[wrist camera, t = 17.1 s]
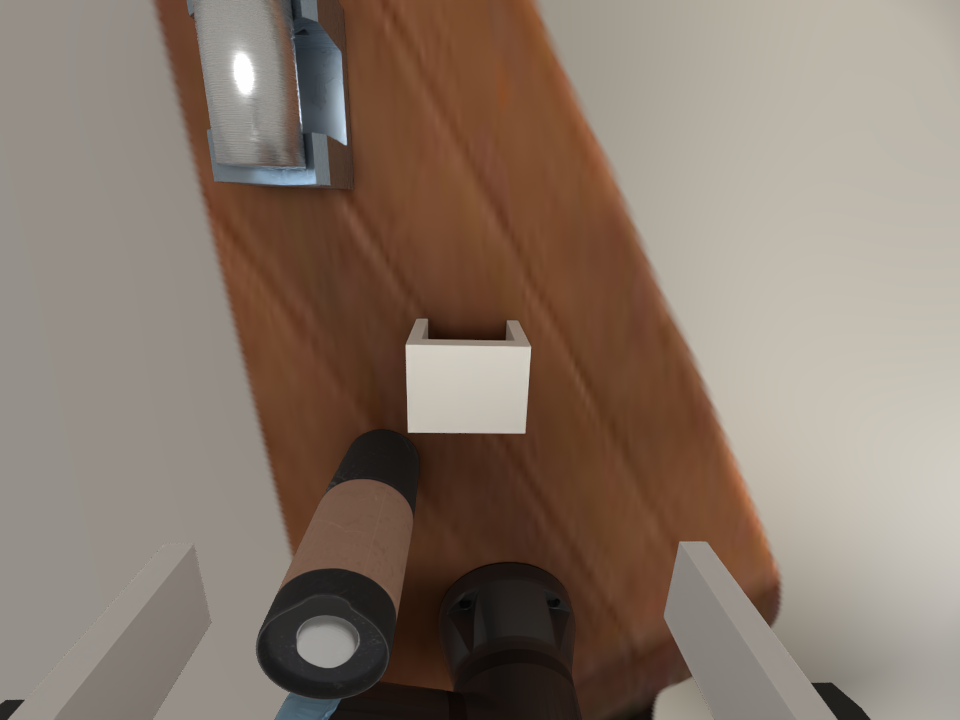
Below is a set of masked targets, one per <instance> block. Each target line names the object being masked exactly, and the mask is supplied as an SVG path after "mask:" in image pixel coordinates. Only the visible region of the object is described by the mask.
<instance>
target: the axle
mask: <svg viewBox="0 0 960 720" xmlns="http://www.w3.org/2000/svg"><path fill="white" fill-rule="evenodd" d="M192 4H193V10H194V17H195V24H196V30H197V37H198V44H199V50H200V57H201V64H202V70H203V77H204V84H205V90H206V97H207V104H208V110H209V117H210V124H211V130H212V137H213V144H214V150H215V157H216V163H218V164H222V165H229V166H237V167H248V168H262V169H288V170H295V169H306V162H305V151H304V140H303V129H302V118H301V107H300V96H299V85H298V74H297V63H296V52H295V41H294V30H293V19H292V7H291V0H192Z"/></svg>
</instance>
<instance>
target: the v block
mask: <svg viewBox="0 0 960 720" xmlns="http://www.w3.org/2000/svg"><path fill="white" fill-rule="evenodd" d="M187 4H188V11H189V16H190V17H192V18H193V19H195V17H194V10H193V4H192V0H187ZM291 7H292V19H293V30H294V41H295V52H296V63H297V74H298V85H299V96H300V107H301V118H302V129H303V140H304V151H305V162H306V169H295V170H288V169H262V168H248V167H237V166H229V165H222V164H218V163H216V157H215V150H214V144H213V137H212V130H211V129H209V130H207V135H208V141H209V148H210V155H211V161H212V168H213V174H214V181H215V182H223V183H232V184H240V185H249V186H258V187H285V188H316V189H347V190H354V178H353V161H352V144H351V127H350V110H349V93H348V76H347V59H346V42H345V25H344V10H343V8H342V7H341V5H340V3H339V2H338V0H291Z"/></svg>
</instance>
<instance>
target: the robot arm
mask: <svg viewBox="0 0 960 720" xmlns="http://www.w3.org/2000/svg"><path fill="white" fill-rule="evenodd" d="M664 619H665V621H666V623H667V625H668V627H669V629H670V631H671V633H672V635H673V637H674V639H675V641H676V643H677V645H678V647H679V649H680V651H681V653H682V655H683V657H684V659H685V661H686V663H687V665H688V668H689V670H690V672H691V674H692V676H693V678H694V680H695V682H696V684H697V686H698V688H699V690H700V692H701V694H702V696H703V698H704V700H705V702H706V704H707V706H708V708H709V710H710V712H711V714H712V716H713V718H714V720H870V718H869V717H868V716H867V715H866V713H865V712H864V711H863V710H862V708H861V707H859V706H858V705H857V704H856V703H855V702H854V701H852V700H851V699H850V698H849V697H848V696H846V695H845V694H844V693H843V692H842V691H841V690H839V689H838V688H837V687H836V686H835V685H834V684H833V683H810V682H809V680H808V679H807V677H806V676H805V675H804V673H803V672H802V671H801V669H800V668H799V667H798V665H797V664H796V663H795V661H794V660H793V659H792V657H791V656H790V654H789V653H788V652H787V650H786V649H785V648H784V646H783V645H782V643H781V642H780V641H779V639H778V638H777V637H776V635H775V634H774V633H773V631H772V630H771V629H770V627H769V626H768V624H767V623H766V622H765V620H764V619H763V618H762V616H761V615H760V614H759V612H758V611H757V610H756V608H755V607H754V605H753V604H752V603H751V601H750V600H749V599H748V597H747V596H746V595H745V593H744V592H743V591H742V589H741V588H740V586H739V585H738V584H737V582H736V581H735V580H734V578H733V577H732V576H731V574H730V573H729V572H728V570H727V569H726V567H725V566H724V565H723V563H722V562H721V561H720V559H719V558H718V557H717V555H716V554H715V552H714V551H713V550H712V548H711V547H710V546H709V544H708V543H707V542H679V547H678V552H677V556H676V561H675V566H674V570H673V575H672V580H671V584H670V589H669V594H668V598H667V603H666V608H665V613H664ZM210 624H211V618H210V614H209V610H208V605H207V600H206V596H205V591H204V587H203V582H202V577H201V573H200V569H199V564H198V559H197V555H196V550H195V546H194V544H164V545H163V546H162V547H161V548H160V549H159V551H157V553H156V554H155V555H154V556H153V557H152V558H151V559H150V560H149V562H148V563H147V564H146V565H145V566H144V567H143V568H142V569H141V571H140V572H139V573H138V574H137V575H136V576H135V577H134V578H133V580H132V581H131V582H130V583H129V584H128V585H127V586H126V587H125V588H124V590H123V591H122V592H121V593H120V594H119V595H118V596H117V597H116V599H115V600H114V601H113V602H112V603H111V604H110V606H108V608H107V609H106V610H105V611H104V612H103V613H102V614H101V615H100V617H99V618H98V619H97V620H96V621H95V622H94V623H93V624H92V626H91V627H90V628H89V629H88V630H87V631H86V632H85V633H84V634H83V636H82V637H81V638H80V639H79V640H78V641H77V642H76V643H75V645H74V646H73V647H72V648H71V649H70V650H69V652H67V654H66V655H65V656H64V657H63V658H62V659H61V660H60V661H59V663H58V664H57V665H56V666H55V667H54V668H53V669H52V671H51V672H50V673H49V674H48V675H47V676H46V677H45V678H44V680H43V681H42V682H41V683H40V684H39V685H38V686H37V687H36V688H35V690H34V691H33V692H32V693H31V694H30V695H29V696H28V697H27V698H26V700H5V701H4V702H3V703H1V704H0V720H153V718H154V716H155V715H156V713H157V711H158V710H159V708H160V706H161V705H162V703H163V702H164V700H165V698H166V697H167V695H168V693H169V692H170V690H171V688H172V687H173V685H174V683H175V682H176V680H177V679H178V677H179V675H180V674H181V672H182V670H183V669H184V667H185V665H186V664H187V662H188V660H189V659H190V657H191V655H192V654H193V652H194V650H195V649H196V647H197V645H198V644H199V642H200V641H201V639H202V637H203V636H204V634H205V632H206V631H207V629H208V627H209V626H210ZM438 634H439V642H440V646H441V649H442V652H443V656H444V659H445V662H446V666H447V669H448V672H449V676H450V679H451V682H452V686H453V692H452V691H445V690H440V689H432V688H424V687H416V686H407V685H400V684H393V683H387V682H380V681H378V682H377V683H375V684H374V685H373V686H372V687H370V688H369V689H367V690H366V691H364V692H362V693H360V694H357V695H354V696H351V697H348V698H343V699H337V700H317V699H310V698H305V697H302V696H298V695H295V694H293V693H289V695H288V696H287V698H286V699H285V701H284V703H283V705H282V706H281V708H280V710H279V712H278V714H277V715H276V718H275V719H274V720H582V716H581V712H580V708H579V704H578V700H577V696H576V692H575V688H574V684H573V679H572V665H573V652H574V639H575V618H574V613H573V610H572V606H571V602H570V599H569V596H568V594H567V592H566V590H565V589H564V587H563V586H562V585H561V583H560V582H559V581H558V580H557V579H555V578H554V577H553V576H552V575H550V574H548V573H547V572H545V571H543V570H541V569H539V568H536V567H533V566H529V565H525V564H517V563H501V564H494V565H489V566H485V567H482V568H479V569H477V570H474V571H472V572H470V573H468V574H467V575H465V576H464V577H462V578H461V579H459V580H458V581H457V582H456V583H455V584H454V585H453V586H452V587H451V588H450V589H449V590H448V592H447V593H446V595H445V597H444V598H443V601H442V603H441V606H440V611H439V627H438Z"/></svg>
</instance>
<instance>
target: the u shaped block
mask: <svg viewBox="0 0 960 720" xmlns="http://www.w3.org/2000/svg"><path fill="white" fill-rule="evenodd" d="M530 356H531V346H530V344H529V342H528V340H527V338H526V336H525V334H524V332H523V330H522V328H521V326H520V324H519V322H518V321H517V320H507V325H506V341H498V340H439V339H428V319H416V321H415V324H414V326H413V328H412V331H411V333H410V336H409V338H408V340H407V343H406V376H407V414H408V433H525V429H526V414H527V400H528V385H529V371H530Z"/></svg>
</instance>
